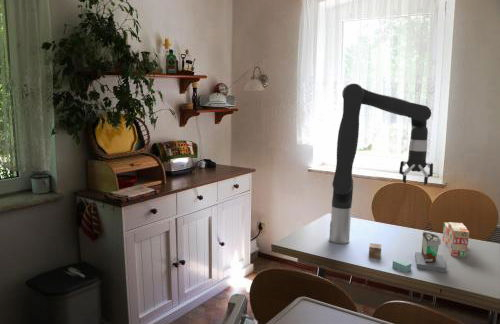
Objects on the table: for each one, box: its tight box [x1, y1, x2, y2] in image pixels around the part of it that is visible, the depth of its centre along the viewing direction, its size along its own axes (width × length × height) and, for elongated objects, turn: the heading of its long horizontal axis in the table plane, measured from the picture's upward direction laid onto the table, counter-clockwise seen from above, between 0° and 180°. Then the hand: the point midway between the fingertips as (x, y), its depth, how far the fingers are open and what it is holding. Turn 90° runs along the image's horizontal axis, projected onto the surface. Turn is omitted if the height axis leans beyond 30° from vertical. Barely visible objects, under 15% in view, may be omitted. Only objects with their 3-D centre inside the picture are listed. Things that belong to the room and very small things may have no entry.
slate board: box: [414, 251, 447, 273], centre depth 176 cm, size 11×14×2 cm
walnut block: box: [368, 242, 382, 260], centre depth 183 cm, size 5×5×5 cm
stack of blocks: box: [442, 221, 470, 258], centre depth 194 cm, size 21×6×12 cm, turn 165°
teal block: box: [392, 258, 412, 273], centre depth 171 cm, size 6×4×3 cm, turn 38°
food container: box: [421, 231, 442, 263], centre depth 175 cm, size 12×6×10 cm, turn 167°
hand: (414, 184), depth 191 cm, fingers open, 8 cm apart
